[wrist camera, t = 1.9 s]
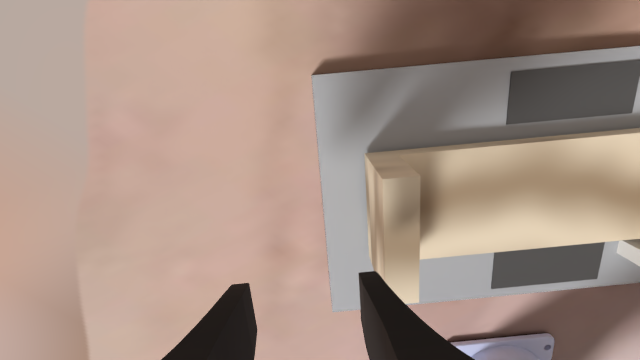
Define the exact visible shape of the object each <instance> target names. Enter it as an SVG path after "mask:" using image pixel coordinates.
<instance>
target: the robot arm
mask: <svg viewBox="0 0 640 360" xmlns="http://www.w3.org/2000/svg"><path fill="white" fill-rule="evenodd" d="M359 290H360V308H361V322H362V327H363V333H364V338H365V344H366V348H367V352H368V355H369V359H370V360H551V359H552V353H553V348H554V342H555V339H554V338H553V337H552V335H551V334H549V333H543V334H533V335H522V336H512V337H502V338H492V339H481V340H471V341H461V342H451V343H449V342H448V341H447V340H445V339H444V338H443V337H442V336H440V335H439V334H438V333H436V332H435V331H434V330H433V329H432V328H430V327H429V326H428V325H427V324H426V323H425V322H424V321H423V320H421V319H420V318H419V317H418V316H417V315H416V314H415V313H414V312H413V311H412V310H411V309H410V308H409V307H408V306H407V305H406V304H405V303H404V302H403V301H402V300H401V299H400V298H399V297H398V296H397V295H396V294H395V293H394V291H393V290H392V289H391V288H390V287H389V286H388V285H387V283H386V282H385V281H384V280H383V279H382V277H381V276H380V275H379V273H377V272H376V271H370V272H360V273H359ZM256 337H257V325H256V320H255V314H254V309H253V303H252V298H251V292H250V287H249V283H244V284H234V285H231V286H230V287H229V289H228V290H227V291H226V292H225V293H224V294H223V295H222V297H221V298H220V299H219V300H218V301H217V302H216V304H215V305H214V306H213V307H212V308H211V309H210V311H209V312H208V313H207V314H206V315H205V316H204V317H203V318H202V320H201V321H200V322H199V323H198V324H197V325H196V326H195V327H194V328H193V329H192V330H191V331H190V332H189V333H188V334H187V335H186V336H185V338H184V339H183V340H182V341H181V342H180V343H179V344H178V345H177V346H176V347H175V348H174V349H172V350H171V351H170V352H169V353H168V354H167V355H166V356H165V357H164V358H163V359H161V360H254V355H255V347H256Z"/></svg>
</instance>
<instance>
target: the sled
mask: <svg viewBox="0 0 640 360" xmlns="http://www.w3.org/2000/svg"><path fill="white" fill-rule="evenodd" d="M364 155H365V178H366V201H367V224H368V246H369V257H370V260H371V263H372V266H373V269H374V271H376V272H377V273H379V275H380V276H381V277H382V279H383V280H384V281H385V282H386V283H387V285H388V286H389V287H390V288H391V289H392V290H393V291H394V293H395V294H396V295H397V296H398V297H399V298H400V299H401V300H402V301H403V302H404V303H405V304H410V303H419V265H420V260H421V259H431V258H442V257H452V256H463V255H473V254H484V253H494V252H505V251H515V250H526V249H536V248H547V247H557V246H568V245H578V244H589V243H600V242H610V241H621V240H631V239H640V128H633V129H622V130H611V131H601V132H590V133H579V134H568V135H557V136H546V137H536V138H525V139H514V140H503V141H492V142H481V143H470V144H460V145H449V146H438V147H427V148H416V149H405V150H394V151H384V152H373V153H364Z"/></svg>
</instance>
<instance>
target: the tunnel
mask: <svg viewBox="0 0 640 360" xmlns="http://www.w3.org/2000/svg"><path fill="white" fill-rule="evenodd" d="M616 253H618V254H619V255H621V256H623V257H624V258H626V259H628V260H629V261H631V262H633V263H635V264H636V265H638V266H640V239H631V240H621V241H619V243H618V248H617V252H616Z"/></svg>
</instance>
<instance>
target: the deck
mask: <svg viewBox="0 0 640 360" xmlns="http://www.w3.org/2000/svg"><path fill="white" fill-rule="evenodd" d="M311 76H312V87H313V99H314V110H315V121H316V132H317V143H318V155H319V166H320V177H321V188H322V200H323V211H324V222H325V233H326V245H327V256H328V267H329V278H330V290H331V301H332V310H333V312H340V311H351V310H361V308H360V290H359V273H360V272H370V271H374V269H373V266H372V263H371V260H370V257H369V246H368V224H367V201H366V178H365V155H364V153H373V152H384V151H394V150H405V149H416V148H427V147H438V146H449V145H460V144H470V143H481V142H492V141H503V140H514V139H525V138H536V137H546V136H557V135H568V134H579V133H590V132H601V131H611V130H622V129H633V128H640V46H630V47H619V48H608V49H596V50H585V51H574V52H563V53H552V54H541V55H530V56H519V57H507V58H496V59H485V60H474V61H463V62H452V63H441V64H430V65H418V66H407V67H396V68H385V69H374V70H363V71H352V72H341V73H330V74H318V75H311ZM618 243H619V241H610V242H600V243H589V244H578V245H568V246H557V247H547V248H536V249H526V250H515V251H505V252H494V253H484V254H473V255H463V256H452V257H442V258H431V259H421V260H420V265H419V303H410V304H406V305H413V304H423V303H434V302H444V301H454V300H465V299H475V298H486V297H496V296H506V295H517V294H527V293H538V292H548V291H558V290H569V289H579V288H589V287H600V286H610V285H621V284H631V283H640V266H638V265H636V264H635V263H633V262H631V261H629V260H628V259H626V258H624V257H623V256H621V255H619V254H618V253H616V252H617V248H618Z"/></svg>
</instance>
